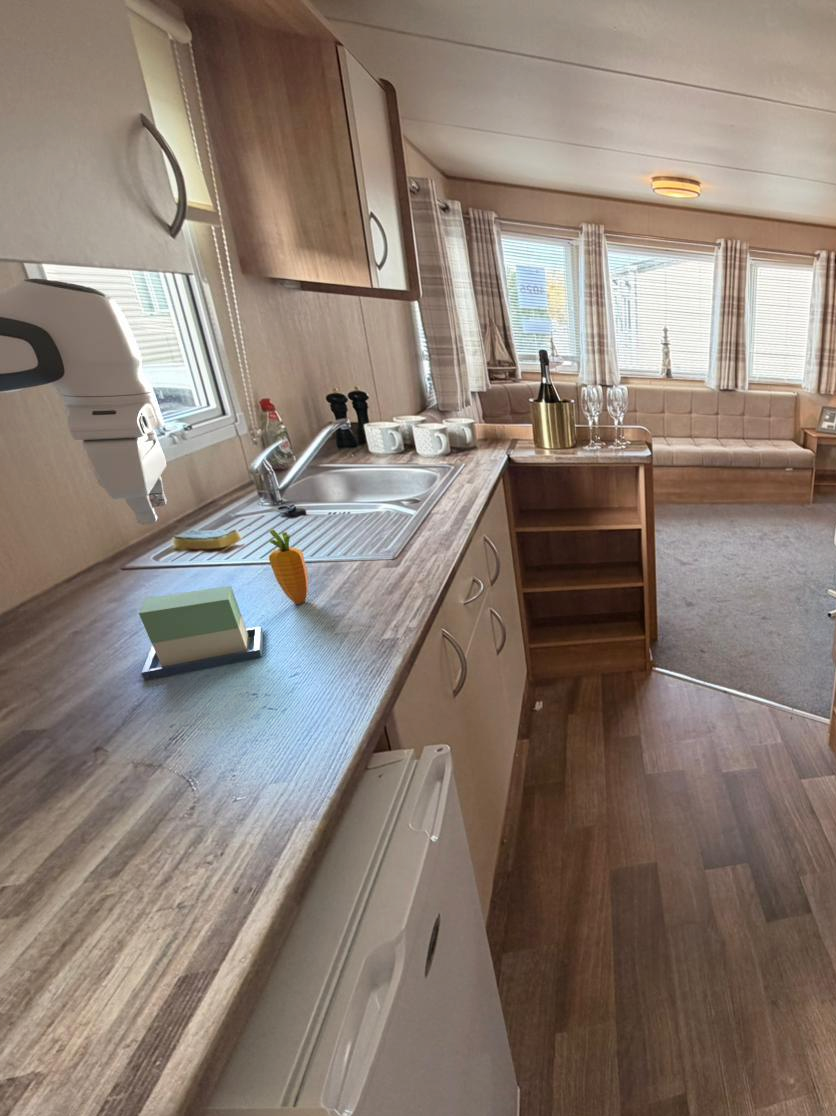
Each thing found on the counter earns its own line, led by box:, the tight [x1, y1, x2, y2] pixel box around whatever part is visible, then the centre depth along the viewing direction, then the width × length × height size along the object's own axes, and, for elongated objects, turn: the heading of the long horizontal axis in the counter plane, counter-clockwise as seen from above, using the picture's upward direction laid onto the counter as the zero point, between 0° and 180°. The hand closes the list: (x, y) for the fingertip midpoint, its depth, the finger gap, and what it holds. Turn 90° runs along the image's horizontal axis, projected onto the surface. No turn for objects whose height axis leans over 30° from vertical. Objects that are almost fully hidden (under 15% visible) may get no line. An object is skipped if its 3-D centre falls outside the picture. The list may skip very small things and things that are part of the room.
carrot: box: [268, 529, 309, 605], centre depth 116 cm, size 5×5×15 cm
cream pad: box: [151, 614, 251, 667], centre depth 100 cm, size 10×6×5 cm, turn 126°
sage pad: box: [138, 585, 242, 644], centre depth 98 cm, size 10×6×5 cm, turn 126°
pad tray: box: [140, 625, 264, 681], centre depth 101 cm, size 14×10×2 cm
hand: (154, 513), depth 91 cm, fingers open, 8 cm apart
